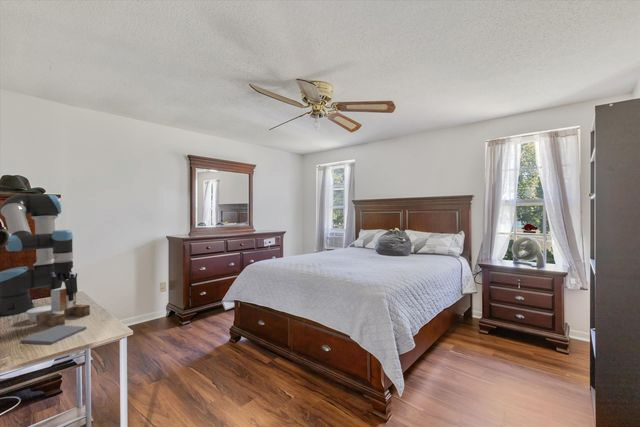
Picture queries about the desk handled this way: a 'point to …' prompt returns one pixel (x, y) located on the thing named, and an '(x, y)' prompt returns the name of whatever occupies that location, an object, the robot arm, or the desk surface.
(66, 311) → the walnut crossbar stand
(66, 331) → the slate grey mat
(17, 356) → the desk surface
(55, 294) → the small box
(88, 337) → the desk surface
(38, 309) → the ramekin
